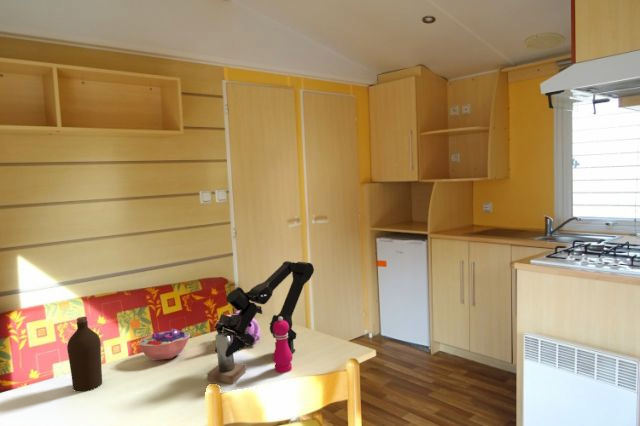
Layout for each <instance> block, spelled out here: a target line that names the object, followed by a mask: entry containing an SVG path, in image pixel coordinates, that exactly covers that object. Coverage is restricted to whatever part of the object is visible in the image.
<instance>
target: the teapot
mask: <svg viewBox="0 0 640 426" xmlns="http://www.w3.org/2000/svg"><path fill="white" fill-rule="evenodd" d="M239 312H240V310H236V311H235V313H234V314H225V315H226V316H230V317H231V315H235V314H236V315H238V313H239ZM216 322H217V323H218V322H219V320H216ZM250 324H252V326H251V327H248V328H247V329H246V331H247V332H248V333H249V334H251V335H252V336H253V337H254V338H255V342H254V344H255V343H256V342H257V341H259V340H260V339H261V335H262V333H261V332H262V331H261V327H260V326H259V323H258V321H257V320H256V319H255V317H254V318H253V320H252V321H251V323H250ZM231 337H232V342H233V336H232V335H231ZM247 346H249V345H248V344H247Z"/></svg>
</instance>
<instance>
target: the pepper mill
mask: <svg viewBox="0 0 640 426" xmlns="http://www.w3.org/2000/svg"><path fill="white" fill-rule="evenodd" d="M278 320H279V321H276V322H275V323H274V325H273V331H274V332H275V338H274V339H275V342H276V348H274V352H273V355H272V361H273V363H274V371H275V372H277V373H279V374H280V373H288V372H291V371H292V368H293V366H292V363H291V362H292V361H293V354H292V353H291V350H290V348H289V346H288V343H287V338H288V333H287V332H288V330H289V324H288V323H287V322H286V321H284V320H283V318H282V317H281V316H280V317H278Z"/></svg>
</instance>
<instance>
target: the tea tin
mask: <svg viewBox="0 0 640 426" xmlns="http://www.w3.org/2000/svg"><path fill="white" fill-rule="evenodd" d="M214 336H215V345H216V346H215V348H217V353H216V354H217V355H216V356H217V357H216V358H217V365H218V367H219V371H221V372H227V371H231V370H233V369H234V368H235V367H234V364H235V359H234V353H233V354H232V355H230V356H229V357H226V356H225V355H226V353H227V351H228V349H229V347H230V345H231V344H232V337H231V333H229V332H224V333H219V334H218V333H217V334H216V335H214Z"/></svg>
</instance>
